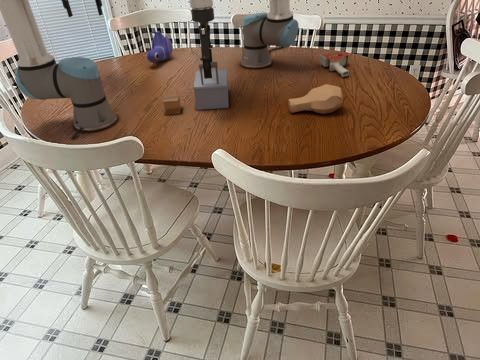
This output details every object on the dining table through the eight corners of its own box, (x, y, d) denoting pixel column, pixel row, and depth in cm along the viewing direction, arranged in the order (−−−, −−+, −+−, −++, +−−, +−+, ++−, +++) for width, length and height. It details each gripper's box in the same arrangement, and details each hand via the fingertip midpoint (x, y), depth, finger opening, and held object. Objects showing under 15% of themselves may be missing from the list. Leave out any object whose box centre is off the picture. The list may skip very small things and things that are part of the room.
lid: (227, 87, 132) (225, 63, 127) (193, 89, 132) (190, 65, 127) (226, 71, 146) (224, 48, 141) (196, 73, 146) (193, 50, 141)
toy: (161, 63, 199) (140, 68, 177) (156, 30, 193) (134, 32, 170) (177, 62, 197) (158, 68, 175) (173, 29, 190) (153, 31, 168)
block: (180, 113, 136) (177, 100, 132) (165, 114, 136) (163, 101, 132) (181, 107, 140) (179, 94, 137) (167, 108, 140) (164, 95, 137)
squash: (347, 114, 128) (348, 93, 121) (291, 124, 130) (290, 103, 123) (339, 97, 135) (340, 77, 129) (287, 107, 137) (285, 87, 131)
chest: (228, 107, 138) (227, 86, 133) (196, 109, 138) (193, 88, 133) (228, 91, 151) (226, 71, 146) (199, 93, 151) (196, 73, 146)
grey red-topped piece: (345, 82, 156) (359, 65, 169) (347, 70, 153) (362, 54, 165) (308, 74, 164) (324, 58, 176) (309, 63, 160) (326, 48, 173)
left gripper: (102, -44, 147) (116, 12, 160) (44, -40, 148) (61, 15, 160) (96, -42, 141) (111, 15, 153) (35, -38, 142) (54, 19, 154)
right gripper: (212, 14, 108) (218, 83, 121) (214, 0, 127) (219, 61, 140) (187, 16, 108) (196, 84, 121) (193, 1, 127) (200, 62, 140)
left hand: (85, 15), depth 157 cm, fingers open, 13 cm apart
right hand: (208, 72), depth 131 cm, fingers open, 12 cm apart
